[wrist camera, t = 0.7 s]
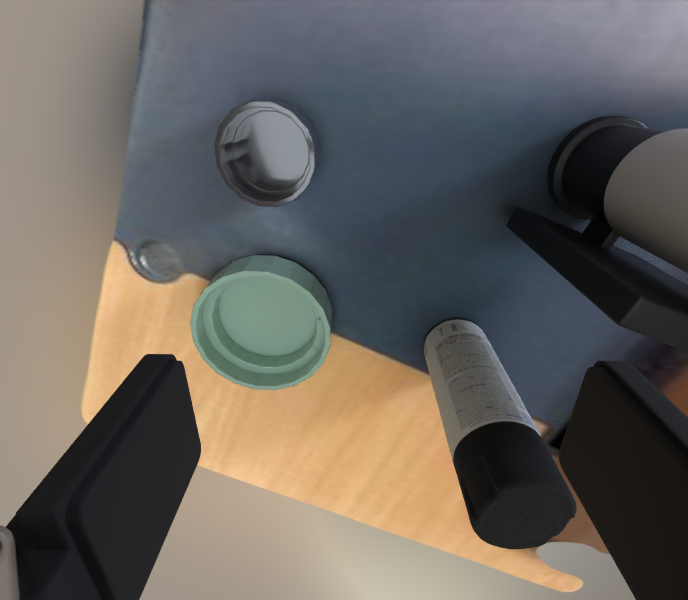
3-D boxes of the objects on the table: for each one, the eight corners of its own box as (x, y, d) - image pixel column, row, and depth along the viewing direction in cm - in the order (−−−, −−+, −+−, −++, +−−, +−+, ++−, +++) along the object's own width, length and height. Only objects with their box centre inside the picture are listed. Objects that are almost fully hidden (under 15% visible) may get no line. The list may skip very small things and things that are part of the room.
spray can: (411, 356, 44) (449, 537, 26) (442, 306, 41) (510, 471, 23) (464, 377, 45) (536, 564, 27) (498, 329, 42) (605, 504, 24)
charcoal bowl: (229, 98, 33) (209, 99, 28) (320, 101, 32) (314, 102, 28) (237, 191, 36) (221, 204, 31) (320, 193, 36) (315, 208, 31)
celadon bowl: (198, 250, 39) (180, 268, 35) (333, 255, 38) (331, 274, 34) (214, 361, 45) (201, 387, 41) (331, 365, 44) (329, 392, 40)
